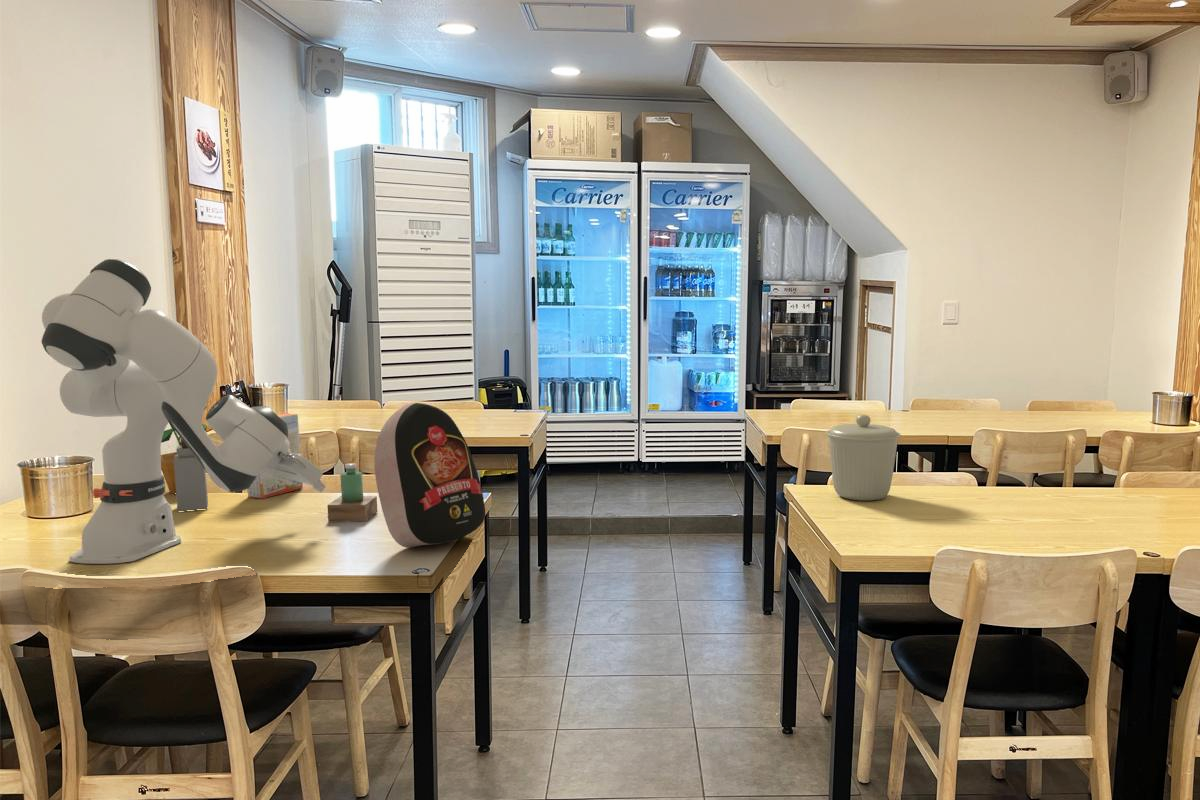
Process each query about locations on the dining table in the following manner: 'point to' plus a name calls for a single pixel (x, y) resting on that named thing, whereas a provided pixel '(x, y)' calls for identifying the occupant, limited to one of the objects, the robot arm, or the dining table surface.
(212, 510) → the dining table surface
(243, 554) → the dining table surface
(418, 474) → the packaged food
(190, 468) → the perfume bottle
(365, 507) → the walnut block
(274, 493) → the cracker box
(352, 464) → the green bottle
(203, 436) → the robot arm
